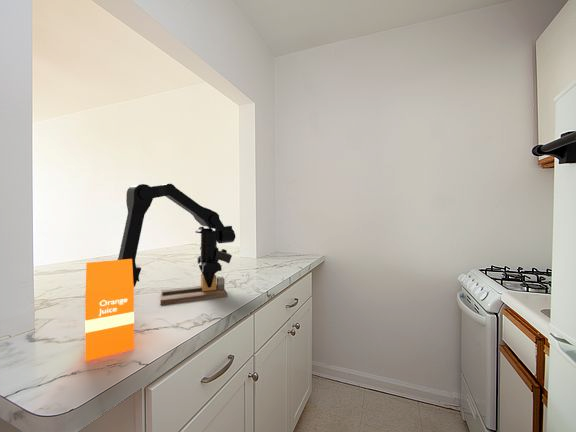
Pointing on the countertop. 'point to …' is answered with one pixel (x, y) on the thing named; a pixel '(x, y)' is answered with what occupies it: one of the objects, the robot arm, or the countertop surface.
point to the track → (193, 293)
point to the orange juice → (109, 308)
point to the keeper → (204, 284)
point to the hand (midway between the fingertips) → (208, 285)
